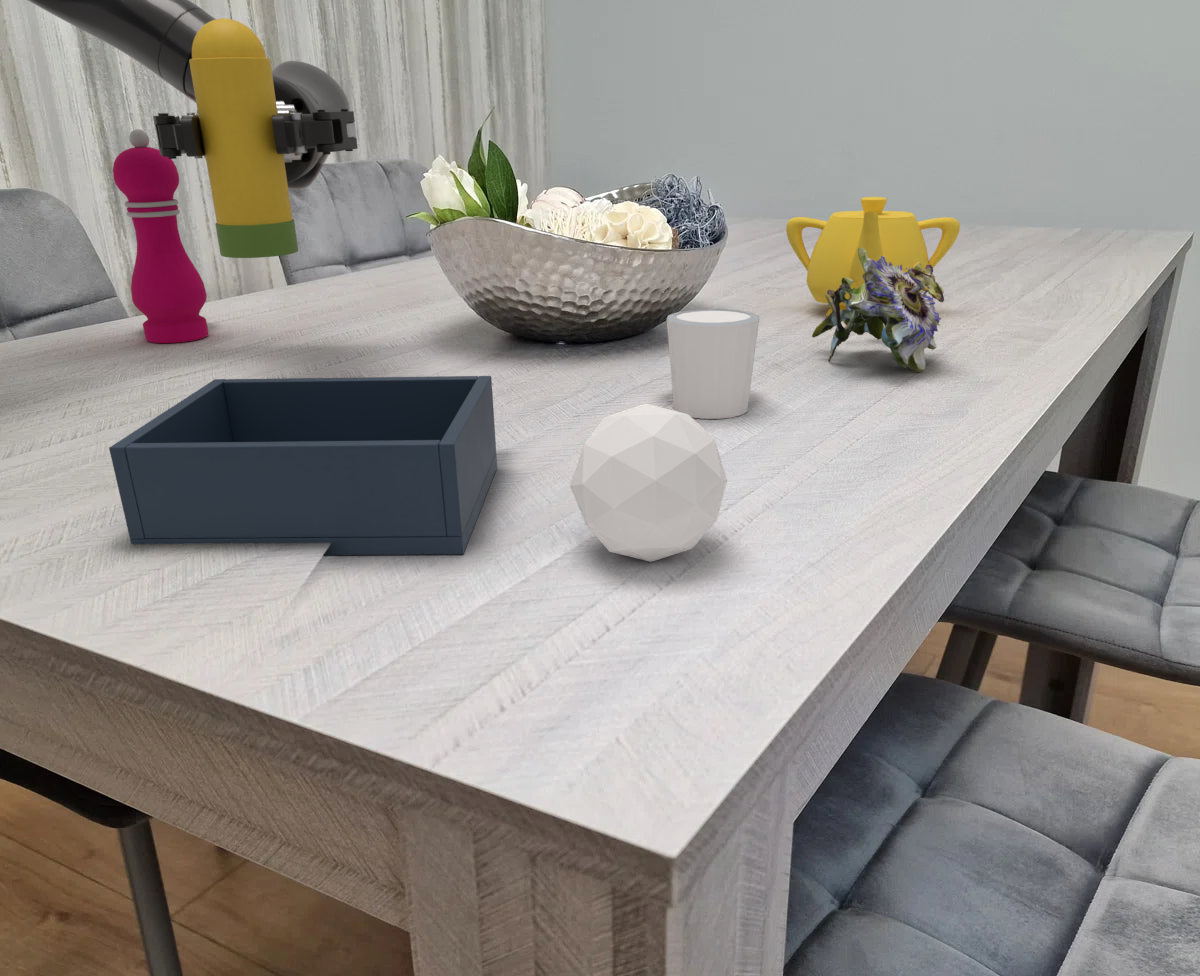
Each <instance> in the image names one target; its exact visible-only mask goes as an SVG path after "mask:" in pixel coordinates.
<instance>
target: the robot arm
mask: <svg viewBox="0 0 1200 976" xmlns="http://www.w3.org/2000/svg"><path fill="white" fill-rule="evenodd" d="M27 1H28V2H30V3H32V4H34V5H35V6H37V7H39V8H41V9H42V10H44V11H46V12H47V13H50V14H51V15H53V16H55V17H57V18H59V19H61V20H63V21H64V22H66V23H67V24H70V25H72V26H73V27H76V28H78V29H79V30H82V31H83V32H86V33H87V34H89V35H91V36H93V37H95V38H97V39H99V40H101V41H102V42H104V43H106V44H108V45H109V46H112V47H113V48H115V49H117V50H118V51H120V52H122V53H124V54H125V55H127V56H129V57H130V58H132V59H133V60H135V61H136V62H138V63H139V64H141V65H142V66H144V67H145V68H147V69H148V70H150V71H151V72H153V73H154V74H155V75H157V76H158V77H159V78H161V79H162V80H163V81H164V82H166V83H167V84H169V85H170V86H172V87H173V88H175V89H176V90H177V91H178V92H180V93H181V94H183V96H185V97H187V98H188V99H190V100H191V101H193V102H194V103H195V104H196V98H195V92H194V86H193V80H192V75H191V69H190V63H189V60H190V59H192V45H193V41H194V38H195V36H196V34H197V32H198V31H199V30H200V29H201V27H202V26H204V25H205V24H206V23H208V22H210V21H212V20H216V19H217V18H215V17H213V16H212V15H211V14H209V13H208V12H207V11H205V10H204V9H203V8H201V7H200V6H199V5H197V4H196V3H194V2H193V1H191V0H27ZM272 77H273V84H274V91H275V98H276V105H277V112H278V115H272V123H273V130H274V137H275V144H276V150H277V154H283V155H284V162H285V170H286V177H287V184H288V190H293V191H297V190H304V189H306V188H309V187H311V185H313V183H314V182H315V180H316V179H317V177H318V176H319V174H320V172H321V170H322V169H323V166H324V164H325V163H326V161H327V159H328V157H329V156H330V155H331V153H335V152H343V151H345V152H353V151H354V150H357V149H358V139H357V130H356V129H357V128H356V120H355V113H354V112H355V111H354V110H351V107H350V102H349V100H348V97H347V95H346V93H345V91H344V90H343V88H342V86H340V84H339V83H338V82H337V81H336V79H334V78H333V77H332V76H331V75H330V74H328V73H327V72H326V71H325V70H323V69H321V68H319V67H318V66H316V65H313V64H311V63H307V62H304V61H299V60H287V61H283V62H281V63H279V64H277V65H276V66H275V68H274V69H273V70H272ZM152 120H153V124H154V130H155V135H156V140H157V145H158V150H159V151H160V155H161V156H162V157H168V159H172V160H176V159H178V158H177V157H182V156H183V155H186V157H188V158H193V157H194V159H195V160H196V159H197V160H198V159H203V158H204V159H205V160H206V157H205V151H204V145H203V139H202V133H201V128H200V122H199V116H198V110H197V109H196V112H186V115H184V114H183V115H181V117H180V115H178V114H176V115H175V114H174V115H170V114H169V113H168V112H162V113H161V112H160V113H159V112H158V113H157V115H153V116H152Z"/></svg>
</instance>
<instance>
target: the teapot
mask: <svg viewBox="0 0 1200 976" xmlns="http://www.w3.org/2000/svg"><path fill="white" fill-rule="evenodd" d="M887 200H888V198H887V197H884V196H865V197H861V198H860V204H861V208H862V210H847V211H846V210H845V211H844V210H843V211H835V212H832V214H831V215H829V218H828V220H826V221H825V220H822V219H817V218H813V217H807V216H796V217H792V218H790V219H789V220H788V221H787V223H786V226H785V229H786V236H787V240H788V242H789V244H790V247H791V248H792V250H793V251H794V253H795V255H796V256H797V258H798V259H799V261H800V263H801V264H802V265H803V267H804V268H805V271H806V284H807V287H808V289H809V292H810V294H811V295H812V298H814V300H815V301H816V302H818V303H821V304H825V305H826V304H827V308H829V309H828V310H827V312H826V314H825V318H827V317H828V316H829V315H830V314H831V313H832V311H833V310H832V308H831V307H830V305H829V304H828V301H827V299H826V297H825V295H826V292H827V290H829V289H830V290H834V291H836V290H837V289H838V288H839V287H840V285H841V284H842V282H841V281H842V278H844V277H846V278H847V279H852V280H854V281H853V283H852V284H851V286H850V287H851V289H853V288H855V289H857V288H859V287H860V286H861V285H862V284H863V283H864V282H865V281H864V279H863V274H864V273H865V272H864V270H863V268H862V265H861V262H860V259H859V255H858V248H859V247H860V248H863V249H864V250H865V251H866V252H867V254H866V255H867V257H868V258H869V259H873V260H874V261H875V262H877V261H878V260H879V259H881V256H883V257H885V260H886V262H887V264H888V266H889V262H891V263H892V265H893V267H896V266H897V265H898V266H899V268H900V265H902V272H903V274H904V273H905V272H907V273H908V268H912V266H913V265H914V264H915V263H917V262H921V264H922V268H924V269H925V268H926V265H931V266H932V267H933V269H934V268H935V267H936V266H937V265H938V263H939V262H940V261H941V260H942V259H943V258H944V257H945V255H946V254H947V253H948V252H949V251H950V249H951V248H952V247H953V245H954V244H955V242H956V241H957V238H958V236H959V233H960V230H961V224H960V221H959V220H958V219H956V218H954V217H950V216H949V217H948V216H947V217H946V216H945V217H944V216H943V217H934V218H929V219H925V220H920V221H918V220H917V218H916V215H915V214H914V213H913V212H910V211H901V210H885V209H884V208H885V206H886V205H887ZM805 228H813V229H819V230H821V232H820V233H819V236H818V238H817V239H816V242H815V244H814V246H813V250H812V252H811V255H810V257H809V254H808V252H807V250H806V247H805V243H804V240H803V239H804V238H803V230H804V229H805ZM935 228H936V229H940V230H941V237H940V240H939V242H938V244H937V246H936V248H935V250H934V251H933V253H932V255H931V257H930V258H929V253H928V249H927V245H926V241H925V238H924V234H923V232H922V230H927V229H935ZM906 268H907V269H906ZM922 292H925V291H923V290H922ZM827 295H828V296H829V298H830V301H831V302H832V299H831V297H830V295H829V294H827ZM845 298H846V299H849V298H850V295H849V293H846V294H845ZM839 305H840V310H843V309H847V306H846V304H845V303H843V302H841V303H840V304H839Z"/></svg>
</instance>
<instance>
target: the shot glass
mask: <svg viewBox="0 0 1200 976" xmlns="http://www.w3.org/2000/svg"><path fill="white" fill-rule="evenodd" d="M759 324H760V315H758V314H757V313H754V312H750V311H745V310H738V309H728V308H702V309H701V308H700V309H690V310H683V311H677V312H673V313H671V314H668V315H667V317H666V325H667V326H666V329H667V340H668V341H667V342H668V352H669V353H668V354H669V365H670V376H671V377H670V378H671V390H672V400H673V401H672V402H673V410H674V411H678V412H682V413H686V414H688V415H690V416H691V417H692V418H693V419H694V418H696V419H701V420H702V419H703V420H720V419H731V418H734V417H739V416H742V415H744V414H745V413H748V409H749V400H750V392H751V385H752V378H753V370H754V363H755V356H756V355H755V354H756V348H757V342H758V341H757V339H758V331H759Z"/></svg>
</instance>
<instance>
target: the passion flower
mask: <svg viewBox="0 0 1200 976" xmlns="http://www.w3.org/2000/svg"><path fill="white" fill-rule="evenodd" d="M866 254H867V252H866V251H865V250H864V249H863V248H860V247H859V248H858V255H859V259H860V262H861V265H862V268H863V270H864V272H865V273H864V274H863V279H864V281H865V282H864V283H863V284H862V285H861V286H860V287H859V288H857V289H855V288H853V289H851V287H850V286H851V284H852V283H853V281H854V280H852V279H847V278H846V277H844V278H842V281H841V282H842V284H841V285H840V287H839V288H838V289H837V290H836V291H834V290H830V289H829V290H827V292H826V295H825V297H826V299H827V301H828V304H827V305H830V307H831V308H832V310H833V311H832V313H831V314H830V315H829V316H828V317H825V318H824V319H823V320H822V321H821V323H819V324H818V325H817V326H816V327H815V329H814V330H813V332H812V334H811V337H812V338H813V339H815V338H817V337H819V336H821V335H822V334H825V332H828V331H830V330H832V329H833V328H834V327H835V330H834V333H833V336H832V340H831V342H830V349H829V350H830V351H829V357H828V362H829V363H830V362H831V360H832V358H833V356H834V355H835V352H836V350H837V347H839V346H840V345H841V344H842V343H845V342H846V341H847V340H848V339H849V338H850V335H851V333H852V332H853V333H855V334H856V335H858V336H862V335H864V334H865V333H867V334H869V335H871V336H872V337H874V338H875V339H876V340H881V341H882V343H883V344H884V346H886V347H887V348H888V349H890V351H891V355H892V357H893V360H894V361H895V362H896V363H897V364H898V365H900V366H901V367H902V368H904V369H907V368H909V369H910V370H911V371H913V372H917V373H922V372H924V371H925V369H926V365H927V364H926V358H925V349H929V350H932V351H933V350H936V349H937V346H938V345H937V343H936V340H935V336H934V335H935V332H939V330H938V326H940V321H941V319H942V317H940V313H939V312H937V311H935V309H936V307H935V304H936V302H935V301H934V300H937V301H938V302H940V303H943V302H944V301H945V297H944V294H945V293H944V292H945V291H944V289H943V288H942V286H941V285H940V284H939V283H938V282H937V281H936V276H935V275H934V274H933V273H934V268H933V267H932V266H931V265H926V268H925V269H924V268H922V264H921V262H917V263H915V264H914V265H913V266H912V268H908V273H907V272H905V273H904V274H903V272H902V265H900V268H899V266H898V265H897V266H896V267H893V265H892V263H891V262H889V266H888V264H887V262H886V260H885V257H883V256H881V259H879V260H878V261H877V262H875V261H874V260H873V259H869V258H868V257H867V255H866ZM906 269H907V268H906ZM922 290H923V291H924V292H922ZM846 293H849V295H850V298H849V299H846V298H845V294H846ZM827 294H829V295H830V297H831V299H832V302H831V301H830V298H829V296H828V295H827ZM927 294H928V295H927ZM841 302H843V303H845V304H846V306H847V309H843V310H840V305H839V304H840V303H841ZM830 307H829V308H830ZM842 322H843V323H842ZM843 324H844V325H845V327H844V326H843Z"/></svg>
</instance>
